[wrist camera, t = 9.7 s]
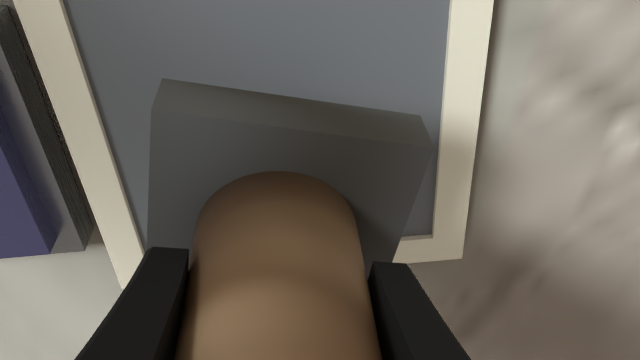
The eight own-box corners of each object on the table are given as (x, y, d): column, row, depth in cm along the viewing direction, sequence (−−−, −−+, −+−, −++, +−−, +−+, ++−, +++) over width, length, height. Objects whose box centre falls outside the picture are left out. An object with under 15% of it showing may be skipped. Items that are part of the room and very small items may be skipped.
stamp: (153, 271, 13) (67, 646, 8) (162, 78, 10) (35, 443, 5) (360, 290, 14) (422, 637, 8) (420, 115, 11) (571, 462, 6)
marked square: (126, 273, 19) (121, 288, 18) (-5, -88, 12) (-18, -81, 12) (456, 244, 19) (462, 258, 18) (498, -126, 13) (508, -121, 12)
